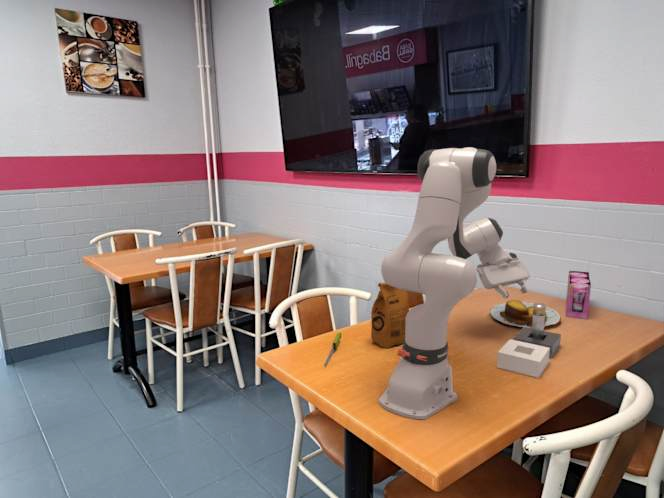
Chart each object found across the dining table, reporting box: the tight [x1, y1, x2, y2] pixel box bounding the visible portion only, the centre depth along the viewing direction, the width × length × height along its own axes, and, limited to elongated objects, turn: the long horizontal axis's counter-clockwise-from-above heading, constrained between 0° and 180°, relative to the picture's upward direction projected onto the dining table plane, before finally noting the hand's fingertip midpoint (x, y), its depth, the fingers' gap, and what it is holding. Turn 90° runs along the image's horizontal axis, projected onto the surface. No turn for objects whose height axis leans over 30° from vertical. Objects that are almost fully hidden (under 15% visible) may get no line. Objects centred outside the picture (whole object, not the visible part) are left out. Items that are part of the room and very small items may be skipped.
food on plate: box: [489, 299, 562, 328], centre depth 182 cm, size 25×25×7 cm
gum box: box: [565, 270, 592, 320], centre depth 190 cm, size 24×8×14 cm, turn 153°
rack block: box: [496, 339, 550, 379], centre depth 143 cm, size 12×12×5 cm
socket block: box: [512, 327, 562, 359], centre depth 156 cm, size 12×12×4 cm
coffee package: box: [370, 282, 410, 349], centre depth 162 cm, size 10×12×22 cm
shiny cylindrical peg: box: [531, 302, 547, 340], centre depth 155 cm, size 4×4×15 cm
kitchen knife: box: [324, 332, 342, 367], centre depth 154 cm, size 22×1×3 cm, turn 166°
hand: (516, 294), depth 161 cm, fingers open, 8 cm apart
